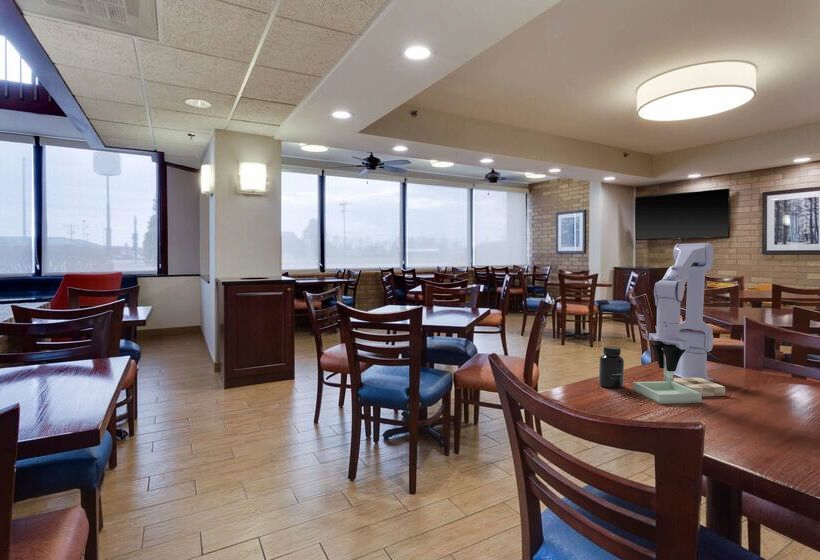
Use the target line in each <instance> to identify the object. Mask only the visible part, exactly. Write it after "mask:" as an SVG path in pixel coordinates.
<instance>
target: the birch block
mask: <svg viewBox="0 0 820 560" xmlns="http://www.w3.org/2000/svg"><path fill="white" fill-rule="evenodd" d="M674 382H675V383H678V384H680V385H682V386H685V387H687V388H690V389H692V390H695V391H697V392H699V393H702V397H720V396H721V397H722V396H726V386H723V385H721V384H719V383H715V382H714V381H712V380H711V381H708V380H705V379H702V378H700V377H696V378H681V377H674Z"/></svg>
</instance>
